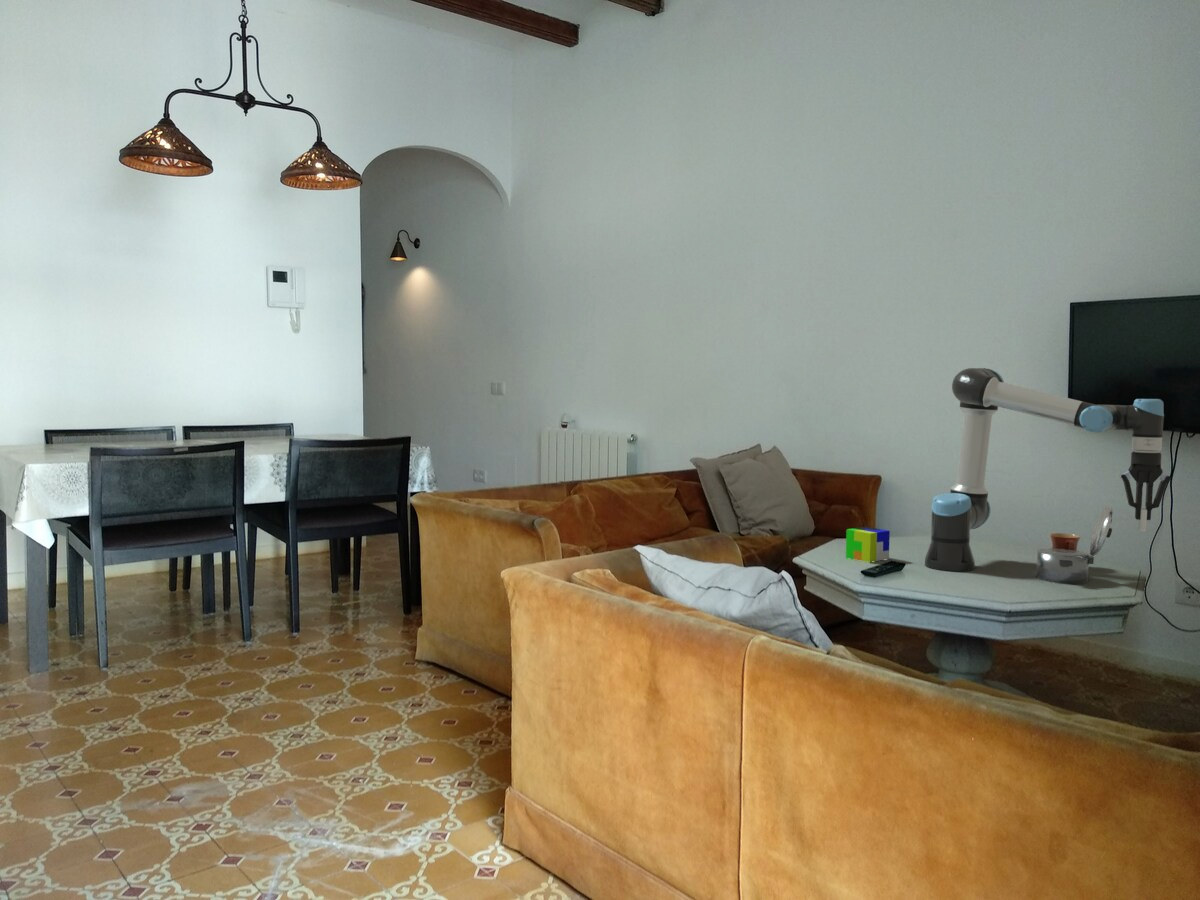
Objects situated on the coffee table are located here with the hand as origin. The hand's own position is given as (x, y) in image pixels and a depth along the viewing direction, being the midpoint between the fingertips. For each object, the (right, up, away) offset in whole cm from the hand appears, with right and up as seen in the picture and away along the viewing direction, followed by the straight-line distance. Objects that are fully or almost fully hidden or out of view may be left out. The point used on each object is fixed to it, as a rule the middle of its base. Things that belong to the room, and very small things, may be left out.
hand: (1142, 530), depth 256 cm
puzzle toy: (-69, -14, +39) cm, 81 cm away
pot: (-19, -16, +9) cm, 26 cm away
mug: (-9, -15, +25) cm, 31 cm away
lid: (-10, 0, +4) cm, 11 cm away
